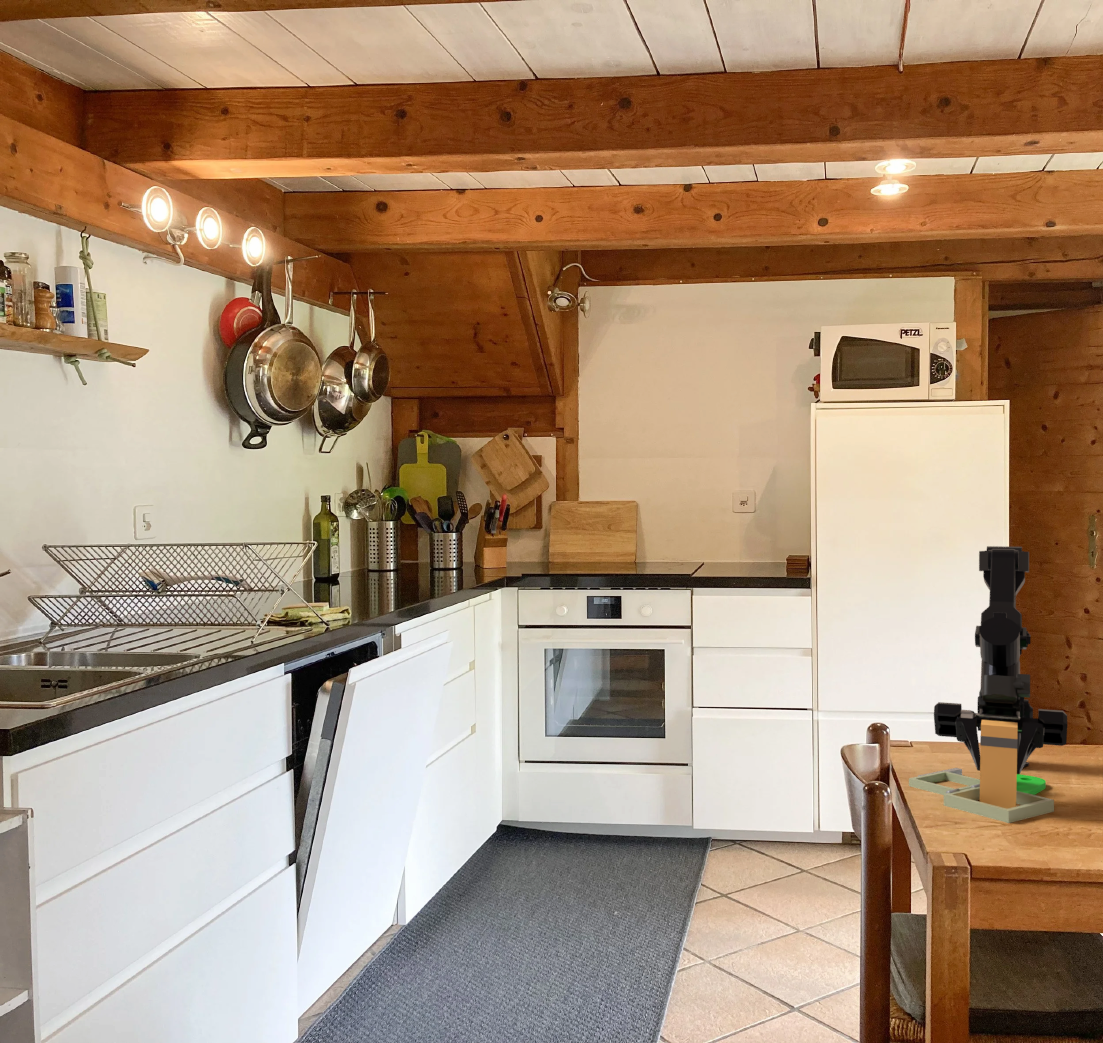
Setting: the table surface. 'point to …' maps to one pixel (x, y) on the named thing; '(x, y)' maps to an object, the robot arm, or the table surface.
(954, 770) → the stay rod
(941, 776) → the lid
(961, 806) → the case
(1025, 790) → the mechanical part
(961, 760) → the table surface
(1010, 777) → the block
